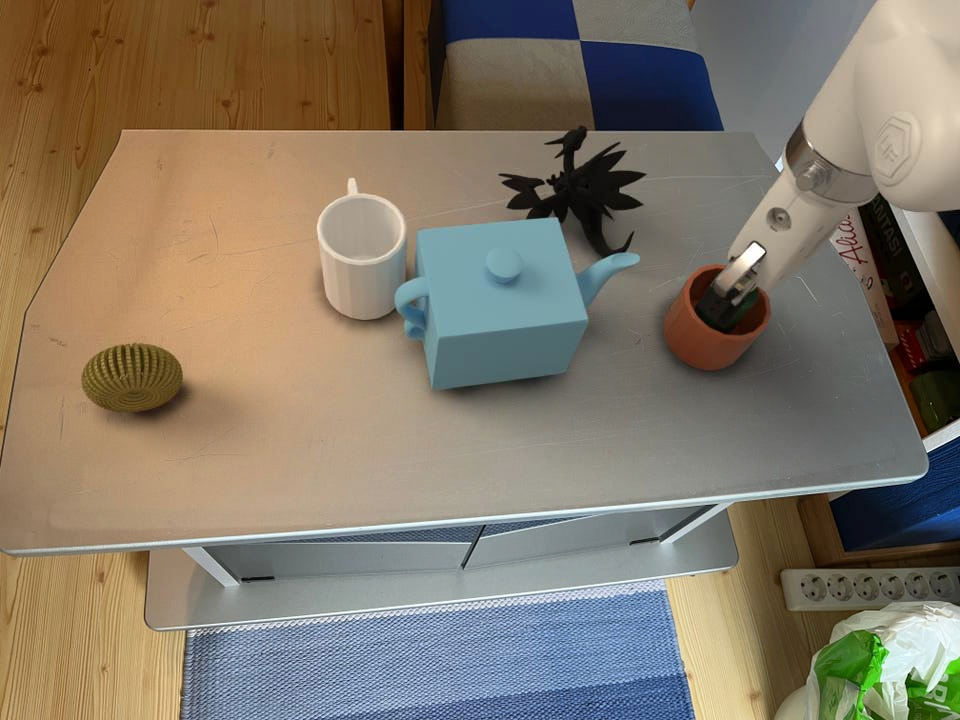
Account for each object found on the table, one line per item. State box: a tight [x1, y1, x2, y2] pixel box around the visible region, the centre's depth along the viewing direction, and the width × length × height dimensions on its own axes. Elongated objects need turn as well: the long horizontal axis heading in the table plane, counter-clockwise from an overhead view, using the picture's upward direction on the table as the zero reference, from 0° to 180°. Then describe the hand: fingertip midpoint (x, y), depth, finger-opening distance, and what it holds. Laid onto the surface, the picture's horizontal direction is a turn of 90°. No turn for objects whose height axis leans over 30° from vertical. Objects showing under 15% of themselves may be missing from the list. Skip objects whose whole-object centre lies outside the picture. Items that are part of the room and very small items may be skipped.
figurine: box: [497, 124, 648, 259], centre depth 78 cm, size 16×13×11 cm
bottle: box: [694, 267, 759, 335], centre depth 73 cm, size 4×4×10 cm
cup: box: [662, 263, 772, 371], centre depth 75 cm, size 9×9×6 cm
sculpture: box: [80, 342, 184, 413], centre depth 64 cm, size 8×4×8 cm, turn 107°
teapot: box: [394, 216, 641, 391], centre depth 69 cm, size 22×11×14 cm, turn 101°
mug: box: [316, 177, 408, 321], centre depth 73 cm, size 8×12×10 cm, turn 13°
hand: (743, 288), depth 69 cm, fingers open, 9 cm apart
